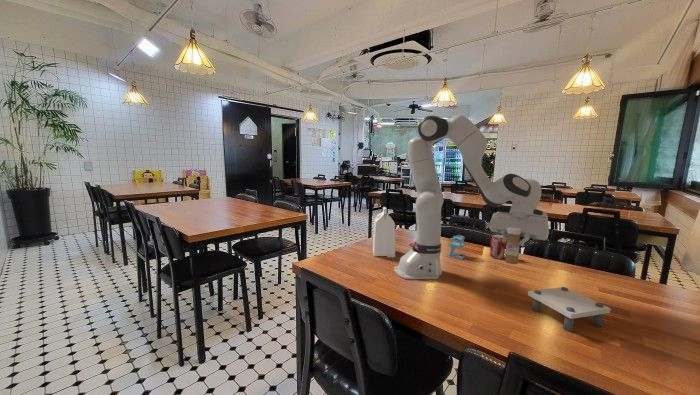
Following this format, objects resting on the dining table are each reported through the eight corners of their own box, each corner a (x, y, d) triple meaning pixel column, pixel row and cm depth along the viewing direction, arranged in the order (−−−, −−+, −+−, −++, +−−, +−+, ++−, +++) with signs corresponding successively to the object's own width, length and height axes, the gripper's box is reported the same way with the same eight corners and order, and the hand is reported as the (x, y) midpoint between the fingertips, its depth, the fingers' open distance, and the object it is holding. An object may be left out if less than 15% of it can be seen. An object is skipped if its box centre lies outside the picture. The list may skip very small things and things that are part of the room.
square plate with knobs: (568, 333, 90) (571, 312, 89) (526, 307, 106) (528, 289, 105) (607, 327, 94) (610, 306, 93) (561, 303, 110) (563, 285, 109)
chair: (451, 253, 166) (452, 232, 165) (466, 256, 161) (467, 234, 160) (446, 256, 160) (447, 235, 158) (462, 259, 155) (463, 238, 153)
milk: (395, 257, 158) (396, 210, 154) (374, 256, 158) (375, 209, 155) (392, 250, 170) (393, 206, 166) (372, 249, 170) (373, 206, 166)
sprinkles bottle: (503, 262, 111) (505, 228, 109) (506, 259, 114) (508, 226, 113) (517, 265, 108) (519, 230, 106) (519, 262, 111) (522, 227, 110)
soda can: (505, 260, 156) (507, 238, 154) (491, 258, 157) (493, 237, 155) (501, 255, 163) (503, 234, 161) (488, 254, 164) (489, 233, 162)
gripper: (492, 206, 121) (482, 233, 115) (551, 213, 106) (542, 244, 101) (495, 215, 124) (485, 242, 119) (552, 223, 110) (544, 253, 105)
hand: (512, 243), depth 110 cm, fingers closed on sprinkles bottle, 4 cm apart
